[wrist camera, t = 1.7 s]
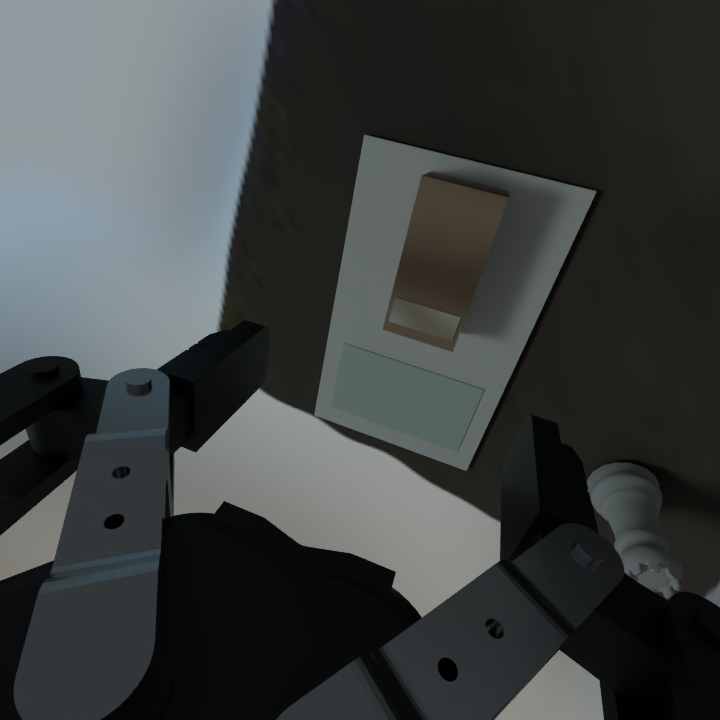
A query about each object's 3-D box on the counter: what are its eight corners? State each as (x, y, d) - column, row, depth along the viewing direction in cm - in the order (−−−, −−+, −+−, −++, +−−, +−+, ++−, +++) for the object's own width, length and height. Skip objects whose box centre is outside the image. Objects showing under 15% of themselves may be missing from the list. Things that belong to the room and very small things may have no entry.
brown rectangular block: (430, 171, 24) (421, 175, 21) (509, 191, 23) (509, 198, 20) (393, 312, 28) (382, 329, 26) (457, 332, 28) (452, 352, 25)
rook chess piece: (646, 512, 30) (686, 620, 23) (578, 498, 31) (598, 598, 25) (666, 464, 28) (717, 568, 21) (593, 452, 29) (619, 547, 22)
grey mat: (366, 134, 24) (363, 134, 24) (595, 190, 22) (596, 191, 22) (316, 412, 35) (313, 415, 35) (466, 467, 33) (466, 471, 33)
